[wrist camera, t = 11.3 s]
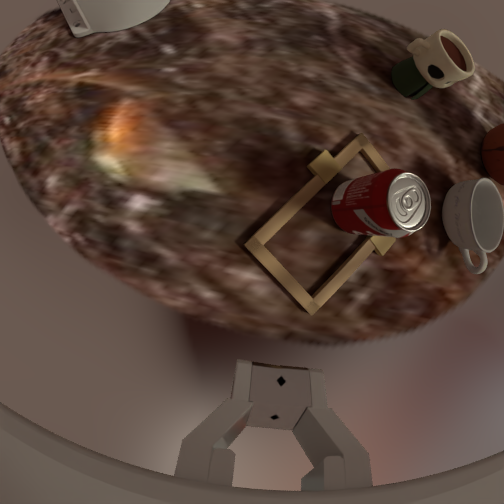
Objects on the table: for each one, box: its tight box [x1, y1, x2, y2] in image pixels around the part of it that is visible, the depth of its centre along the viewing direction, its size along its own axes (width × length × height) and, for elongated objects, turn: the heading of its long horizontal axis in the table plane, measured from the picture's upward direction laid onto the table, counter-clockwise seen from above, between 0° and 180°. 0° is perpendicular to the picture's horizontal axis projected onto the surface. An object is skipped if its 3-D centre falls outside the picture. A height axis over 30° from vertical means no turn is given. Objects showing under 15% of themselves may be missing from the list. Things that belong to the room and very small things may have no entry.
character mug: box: [391, 29, 475, 100], centre depth 29 cm, size 11×7×13 cm, turn 84°
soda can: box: [331, 169, 431, 238], centre depth 30 cm, size 7×7×12 cm
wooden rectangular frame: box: [243, 133, 396, 315], centre depth 35 cm, size 15×21×1 cm
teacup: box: [442, 178, 504, 274], centre depth 35 cm, size 14×11×8 cm
